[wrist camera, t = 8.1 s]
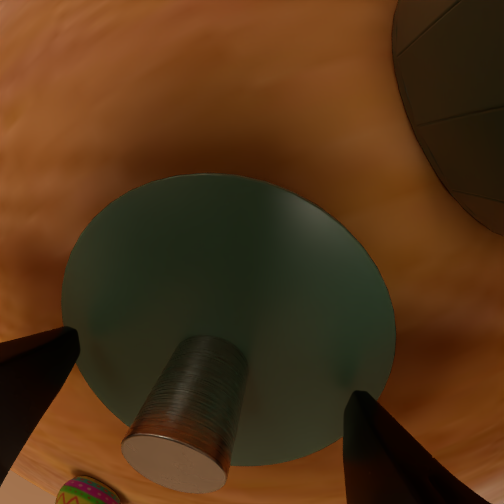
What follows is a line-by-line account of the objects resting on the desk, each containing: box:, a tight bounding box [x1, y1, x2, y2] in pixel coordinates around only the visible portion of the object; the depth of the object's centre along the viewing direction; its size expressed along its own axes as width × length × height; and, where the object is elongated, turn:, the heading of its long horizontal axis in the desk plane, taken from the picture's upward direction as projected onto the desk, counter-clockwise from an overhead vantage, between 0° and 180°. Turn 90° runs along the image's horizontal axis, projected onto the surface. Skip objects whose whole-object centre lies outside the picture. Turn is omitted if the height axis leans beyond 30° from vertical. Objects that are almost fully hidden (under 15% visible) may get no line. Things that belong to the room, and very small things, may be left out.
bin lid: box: [61, 173, 396, 493], centre depth 8 cm, size 11×11×5 cm
